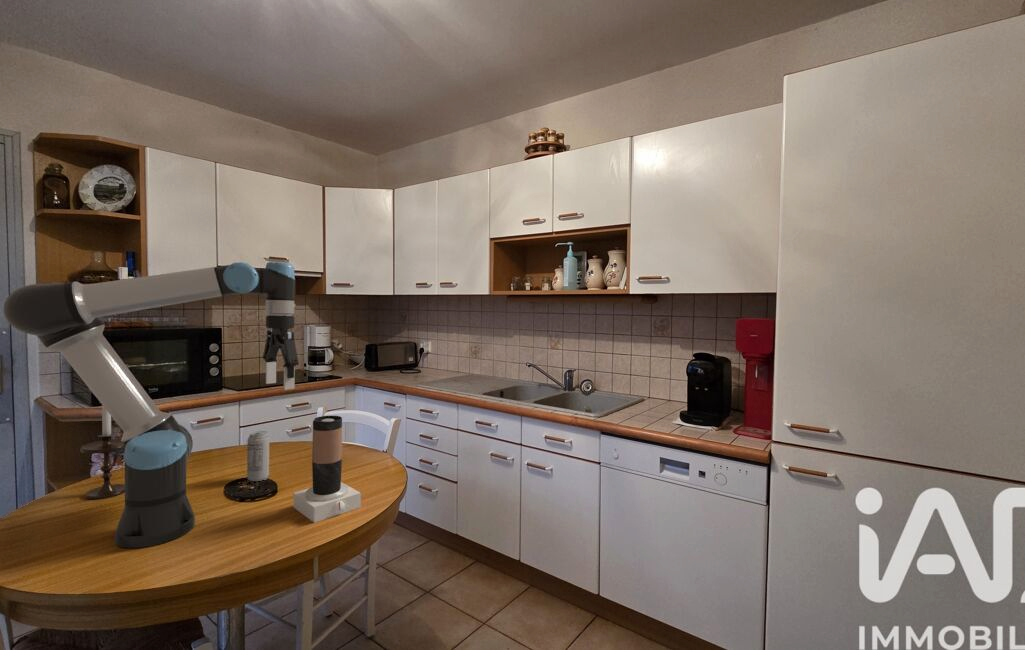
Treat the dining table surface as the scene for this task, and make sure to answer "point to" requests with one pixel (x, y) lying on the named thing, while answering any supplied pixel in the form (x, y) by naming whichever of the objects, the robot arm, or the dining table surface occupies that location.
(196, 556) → the dining table surface
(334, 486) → the travel mug
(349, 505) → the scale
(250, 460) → the energy drink can
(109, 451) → the candlestick
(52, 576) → the dining table surface
